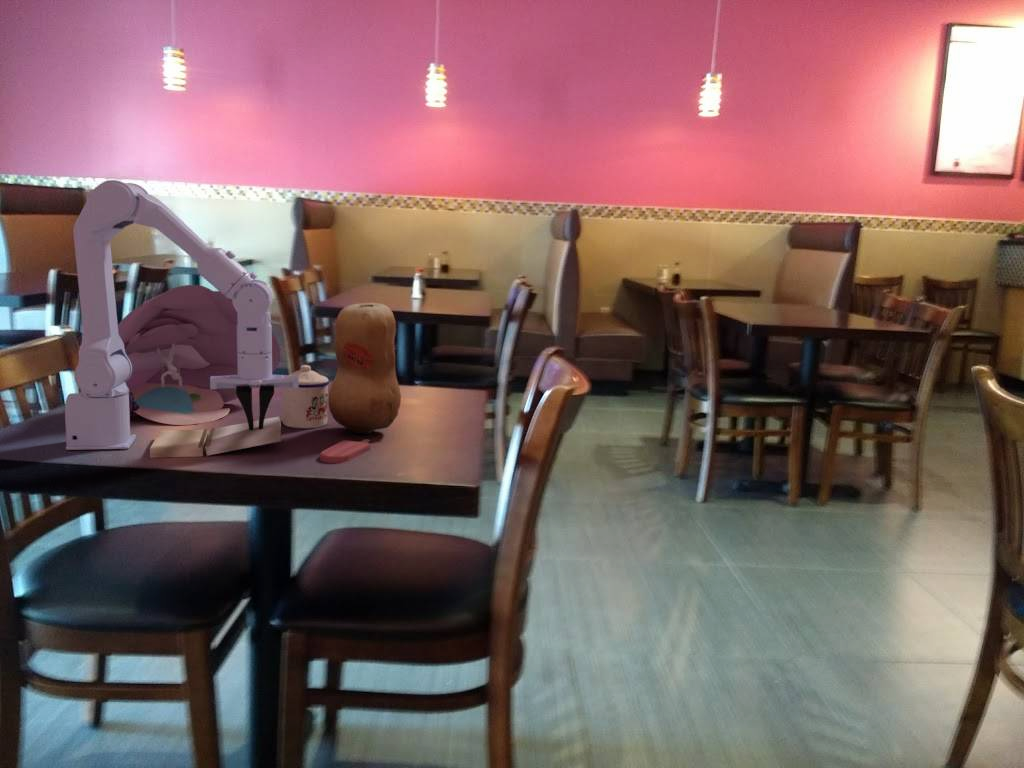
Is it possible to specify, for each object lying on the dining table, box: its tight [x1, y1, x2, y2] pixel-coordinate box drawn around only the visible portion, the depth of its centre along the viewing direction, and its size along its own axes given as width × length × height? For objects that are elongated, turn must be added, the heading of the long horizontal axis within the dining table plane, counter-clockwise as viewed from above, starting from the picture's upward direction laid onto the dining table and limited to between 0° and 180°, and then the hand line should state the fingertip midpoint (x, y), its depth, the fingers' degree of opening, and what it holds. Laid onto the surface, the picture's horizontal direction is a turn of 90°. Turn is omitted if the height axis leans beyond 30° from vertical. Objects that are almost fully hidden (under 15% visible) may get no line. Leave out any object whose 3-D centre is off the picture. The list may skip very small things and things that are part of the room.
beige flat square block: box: [205, 415, 282, 457], centre depth 137 cm, size 12×12×2 cm
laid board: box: [149, 428, 210, 459], centre depth 134 cm, size 8×12×2 cm, turn 17°
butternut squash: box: [328, 302, 402, 435], centre depth 149 cm, size 14×13×25 cm
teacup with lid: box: [282, 364, 330, 429], centre depth 155 cm, size 12×9×12 cm
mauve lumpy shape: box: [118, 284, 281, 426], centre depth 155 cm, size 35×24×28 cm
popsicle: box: [319, 438, 371, 464], centre depth 137 cm, size 5×2×15 cm
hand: (256, 428), depth 137 cm, fingers closed
